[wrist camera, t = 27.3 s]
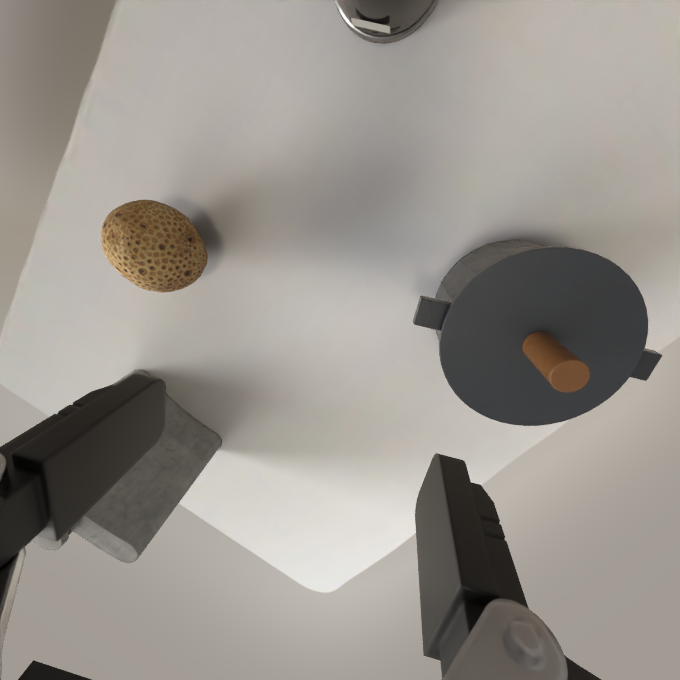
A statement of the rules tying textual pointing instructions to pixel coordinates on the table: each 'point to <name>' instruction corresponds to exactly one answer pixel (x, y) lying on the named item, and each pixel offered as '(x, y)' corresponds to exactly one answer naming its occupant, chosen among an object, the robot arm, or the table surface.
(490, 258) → the pot
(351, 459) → the table surface
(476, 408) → the pot lid
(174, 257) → the natural sponge
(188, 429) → the hip flask
